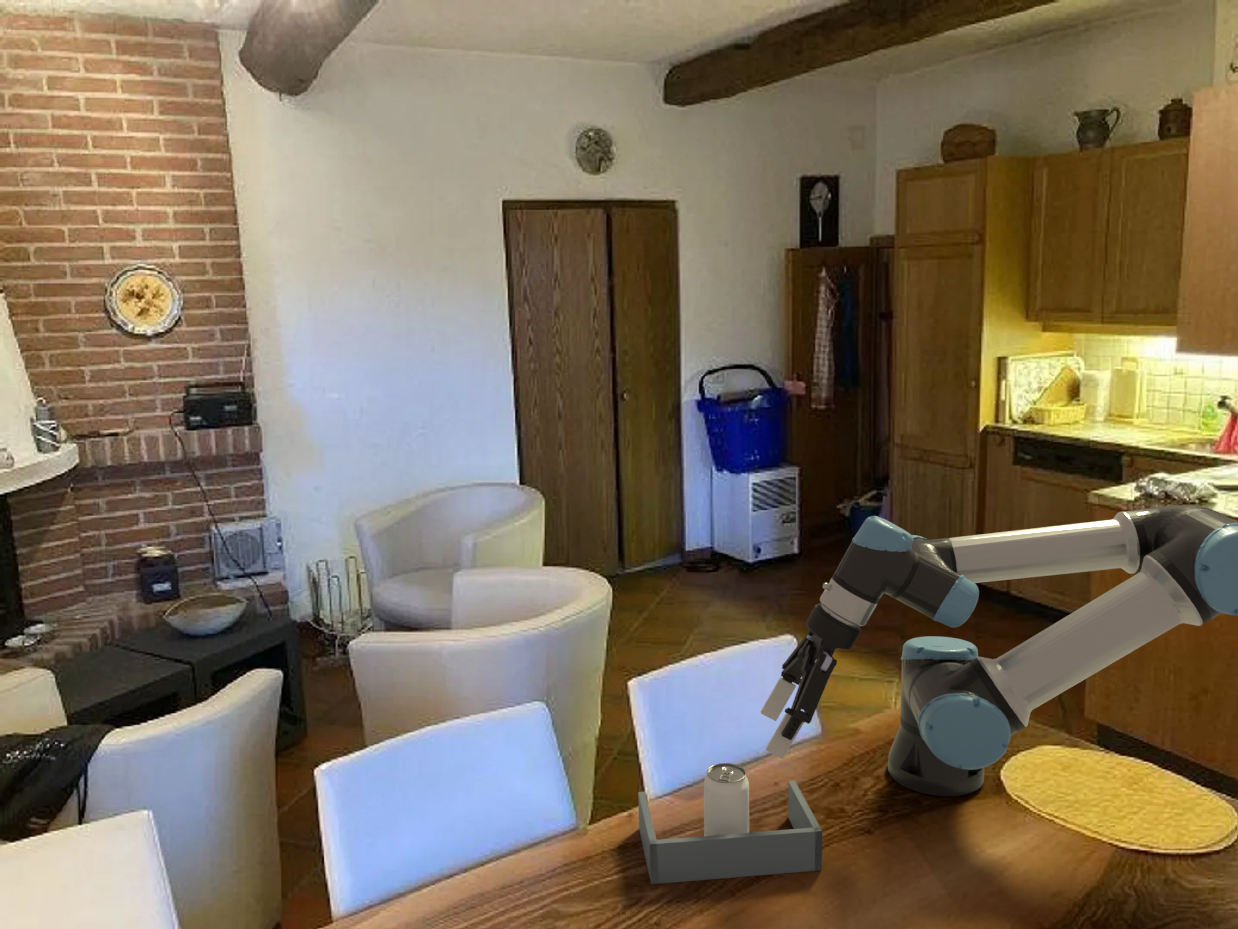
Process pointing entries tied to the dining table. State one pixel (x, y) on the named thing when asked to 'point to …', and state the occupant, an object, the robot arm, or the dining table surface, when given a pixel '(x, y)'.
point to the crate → (734, 848)
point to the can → (726, 800)
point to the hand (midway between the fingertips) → (770, 734)
